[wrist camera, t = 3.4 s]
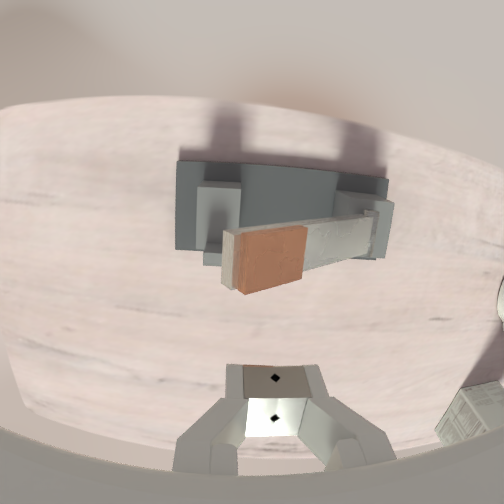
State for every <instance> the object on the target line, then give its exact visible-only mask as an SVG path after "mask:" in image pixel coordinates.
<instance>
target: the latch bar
mask: <svg viewBox="0 0 504 504" xmlns="http://www.w3.org/2000/svg"><path fill="white" fill-rule="evenodd" d="M379 214H380V212H379V211H376V210H372V209H364V211H363V214H355V215H346V216H337V217H328V218H319V219H310V220H301V221H293V222H285V223H276V224H268V225H260V226H252V227H244V228H236V229H229V230H223V248H222V273H221V283H222V284H223V285H225V286H226V287H227V288H229V289H230V290H234V289H238V291H240V292H241V293H243V294H244V295H247V294H250V293H254V292H258V291H261V290H265V289H268V288H272V287H275V286H279V285H282V284H286V283H289V282H293V281H296V280H300V279H302V272H303V271H306V270H310V269H314V268H317V267H321V266H324V265H328V264H332V263H335V262H339V261H342V260H346V259H349V258H353V257H356V256H362V257H372V255H373V249H374V244H375V238H376V233H377V227H378V221H379Z"/></svg>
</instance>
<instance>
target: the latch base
mask: <svg viewBox="0 0 504 504" xmlns="http://www.w3.org/2000/svg"><path fill="white" fill-rule="evenodd" d="M388 183H389V179H386V178H380V177H374V176H367V175H359V174H352V173H344V172H336V171H327V170H318V169H308V168H298V167H287V166H275V165H262V164H247V163H230V162H207V161H177V169H176V211H175V250H192V251H204V252H203V265H206V266H222V248H223V230H229V229H236V228H244V227H252V226H260V225H268V224H276V223H285V222H293V221H301V220H310V219H319V218H328V217H337V216H346V215H355V214H363V211H364V209H372V210H376V211H379V212H380V214H379V221H378V227H377V233H376V238H375V244H374V249H373V255H372V257H362V256H356V257H353V258H349V259H365V260H376V258H385V254H386V249H387V244H388V239H389V233H390V228H391V222H392V216H393V210H394V203H393V202H391V201H389V200H387V199H386V198H387V191H388Z"/></svg>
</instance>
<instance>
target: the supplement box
mask: <svg viewBox="0 0 504 504" xmlns="http://www.w3.org/2000/svg"><path fill="white" fill-rule="evenodd" d="M503 424H504V388H503V387H502V385H501V384H500V383H499V382H498V381H493V382H489V383H485V384H480V385H475V386H470V387H465V388H461V389H460V390H459V392H458V394H457V395H456V397H455V399H454V400H453V402H452V404H451V405H450V407H449V408H448V410H447V412H446V413H445V415H444V416H443V418H442V419H441V421H440V422H439V424H438V425H437V427H436V428H435V432H436V434H437V435H438V437H439V439H440V441H441V442H442V444H443V446H447V445H450V444H453V443H456V442H459V441H462V440H465V439H468V438H470V437H473V436H476V435H478V434H481V433H484V432H486V431H489V430H491V429H494V428H496V427H498V426H501V425H503Z"/></svg>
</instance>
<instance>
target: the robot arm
mask: <svg viewBox="0 0 504 504" xmlns="http://www.w3.org/2000/svg"><path fill="white" fill-rule="evenodd" d="M497 309H498V314H499V317H500V318H501V320H502V322H503V331H504V280H503V282H502V285H501V288H500V291H499V296H498V303H497ZM296 435H298V436H297V437H298V438H299V439H300V440H301V441H302V442H303V443H304V444H305V445H306V446H307V447H308V448H309V449H310V450H311V451H312V452H313V453H314V455H315V456H316V457H317V458H318V459H319V460H320V461H321V462H322V463H323V464H324V465H325V466H326V467H325V470H324V472H315V473H304V474H291V475H266V476H238V462H237V449H238V448H239V446H240V445H241V443H242V442H243V441H244V439H245V438H246V436H296ZM0 504H504V424H503V425H501V426H498V427H496V428H494V429H491V430H489V431H486V432H484V433H481V434H478V435H476V436H473V437H470V438H468V439H465V440H462V441H459V442H456V443H453V444H450V445H447V446H444V447H441V448H437V449H434V450H431V451H427V452H424V453H420V454H416V455H412V456H408V457H404V458H400V459H397V458H396V456H395V453H394V451H393V449H392V447H391V444H390V442H389V440H388V437H387V435H386V433H385V432H384V431H382V430H381V429H379V428H378V427H376V426H375V425H373V424H372V423H370V422H369V421H368V420H366V419H365V418H363V417H362V416H360V415H359V414H357V413H356V412H354V411H353V410H352V409H350V408H349V407H347V406H346V405H344V404H343V403H342V402H340V401H339V400H337V399H336V398H335V397H329V394H328V392H327V389H326V386H325V383H324V380H323V377H322V374H321V371H320V369H319V366H318V365H302V366H265V365H238V364H227V365H226V389H225V398H220V399H219V400H218V401H217V402H216V403H215V404H214V405H213V406H212V407H211V408H210V409H209V410H208V411H207V412H206V413H205V414H204V415H203V416H202V417H201V418H200V419H198V420H197V421H196V422H195V423H194V424H193V425H192V426H191V427H190V428H189V429H188V430H187V431H186V432H185V433H183V434H182V435H181V436H180V437H179V438H178V439H177V443H176V449H175V456H174V462H173V469H172V471H165V470H158V469H150V468H144V467H138V466H132V465H127V464H122V463H117V462H112V461H107V460H103V459H98V458H94V457H90V456H86V455H82V454H78V453H75V452H71V451H68V450H64V449H61V448H57V447H54V446H51V445H48V444H45V443H42V442H39V441H36V440H33V439H31V438H28V437H25V436H23V435H20V434H17V433H15V432H12V431H10V430H7V429H5V428H3V427H0Z"/></svg>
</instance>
